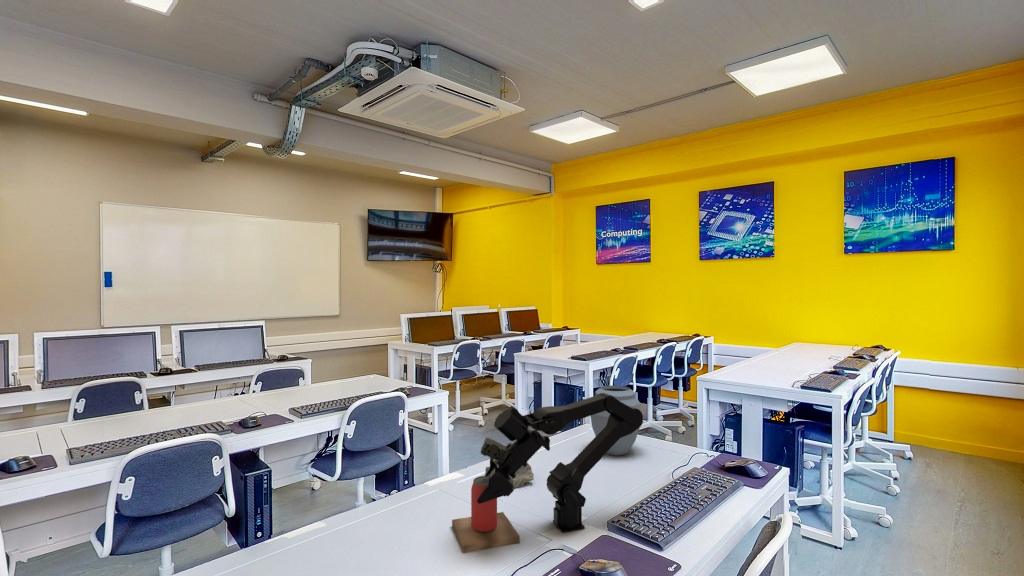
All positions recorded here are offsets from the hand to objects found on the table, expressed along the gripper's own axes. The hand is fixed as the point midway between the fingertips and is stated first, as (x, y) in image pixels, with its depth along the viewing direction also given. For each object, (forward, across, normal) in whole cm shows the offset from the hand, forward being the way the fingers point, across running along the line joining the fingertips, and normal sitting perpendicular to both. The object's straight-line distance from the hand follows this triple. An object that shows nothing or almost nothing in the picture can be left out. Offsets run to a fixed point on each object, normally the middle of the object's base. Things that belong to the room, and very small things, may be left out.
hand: (478, 494), depth 126 cm
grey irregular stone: (+2, -36, +14) cm, 38 cm away
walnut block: (+7, 0, +9) cm, 11 cm away
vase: (-27, -62, +42) cm, 79 cm away
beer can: (+5, 0, +7) cm, 9 cm away
